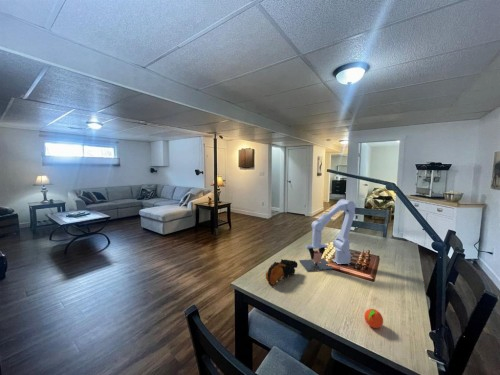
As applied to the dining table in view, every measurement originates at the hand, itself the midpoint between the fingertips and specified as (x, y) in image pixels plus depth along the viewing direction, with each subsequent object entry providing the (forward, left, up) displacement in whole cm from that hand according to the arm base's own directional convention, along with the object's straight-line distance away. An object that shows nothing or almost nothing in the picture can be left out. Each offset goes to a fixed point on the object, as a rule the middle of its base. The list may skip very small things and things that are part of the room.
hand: (316, 258), depth 144 cm
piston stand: (0, 0, -5) cm, 5 cm away
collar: (0, 0, -1) cm, 1 cm away
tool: (+27, +12, -5) cm, 30 cm away
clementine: (0, +55, -5) cm, 55 cm away
